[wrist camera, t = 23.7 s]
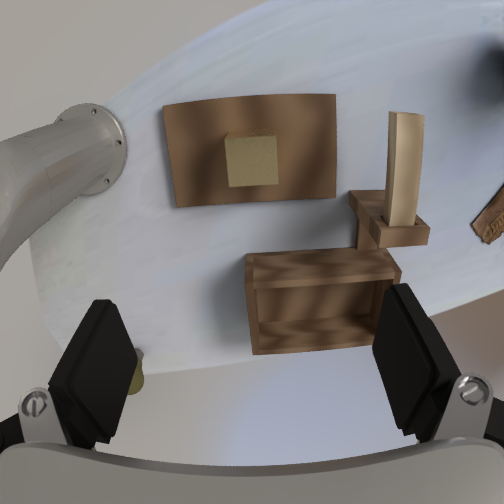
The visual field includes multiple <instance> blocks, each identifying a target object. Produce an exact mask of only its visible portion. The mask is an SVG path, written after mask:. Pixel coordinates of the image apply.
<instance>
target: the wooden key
mask: <svg viewBox="0 0 504 504" xmlns="http://www.w3.org/2000/svg"><path fill="white" fill-rule="evenodd" d="M423 135H424V116H423V115H419V114H415V113H406V112H394V111H389V129H388V157H387V174H386V188H385V200H384V210H383V221H384V223H385V224H386V225H387V226H388V227H390V226H414V223H415V216H416V209H417V202H418V194H419V185H420V175H421V165H422V152H423ZM403 247H406V246H403ZM387 248H390V247H387Z"/></svg>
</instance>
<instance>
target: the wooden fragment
mask: <svg viewBox="0 0 504 504" xmlns="http://www.w3.org/2000/svg"><path fill="white" fill-rule="evenodd" d="M471 225H472V227H473V229H474V231H475V233H476V235H477V236H480V237H481V238H482V240H483V241H484V242H485V243H488V244H489V245H490V244H491V242H493V241H494V240H496V239H497V238H499V237H500V236H501V234H502V233H503V232H504V187H503V188H502V189H501V190H500V192H499V193H498V194H497V195H496V196H495V198H494V199H493V200H492V201H491V203H490V204H489V205H488V206H487V207H486V208H485V210H484V211H483V212H482V213H481V214H480V215H479V217H478V218H477V220H476V221H475V222H474V223H473V224H471Z"/></svg>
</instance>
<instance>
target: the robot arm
mask: <svg viewBox="0 0 504 504" xmlns="http://www.w3.org/2000/svg"><path fill="white" fill-rule="evenodd" d="M96 110H97V112H96ZM120 141H121V142H122V143H120ZM126 158H127V141H126V136H125V133H124V130H123V128H122V126H121V124H120V122H119V121H118V119H117V118H116V117H115V115H114V114H112V113H111V112H110V111H109V110H108V109H106V108H104V107H102V106H100V105H96V104H87V103H85V104H79V105H76V106H72V107H70V108H69V109H67V110H65V111H64V112H63V113H62V114H60V116H58V118H57V119H56V120H55V122H54V123H53V124H50V125H46V126H44V127H41V128H37V129H34V130H31V131H28V132H26V133H23V134H20V135H17V136H15V137H12V138H9V139H7V140H4V141H1V142H0V271H1V270H2V268H3V266H4V265H5V263H6V262H7V261H8V259H9V258H10V257H11V255H12V254H13V253H14V252H15V251H16V250H17V249H18V248H19V246H20V245H21V244H22V243H23V242H24V241H25V240H27V239H28V238H29V237H30V236H31V235H32V234H33V233H34V232H35V231H36V230H38V229H39V228H40V227H41V226H42V225H44V224H45V223H46V222H47V221H48V220H50V219H51V218H52V217H53V216H54V215H55V214H57V213H58V212H59V211H60V210H62V209H63V208H64V207H65V206H67V205H68V204H69V203H70V202H72V201H73V200H74V199H75V198H77V197H78V196H79V195H94V194H97V193H100V192H102V191H104V190H106V189H107V188H109V187H110V186H111V185H112V184H113V183H114V182H115V181H116V180H117V179H118V178H119V176H120V175H121V173H122V171H123V168H124V166H125V162H126ZM108 179H109V181H108ZM372 350H373V355H374V357H375V361H376V363H377V366H378V369H379V372H380V375H381V378H382V381H383V384H384V387H385V390H386V393H387V396H388V400H389V403H390V406H391V409H392V413H393V416H394V419H395V422H396V425H397V428H398V429H402V431H403V434H404V436H407V435H411V434H415V435H416V438H417V440H418V442H417V444H416V445H411V446H406V447H402V448H398V449H393V450H388V451H384V452H378V453H373V454H368V455H362V456H356V457H350V458H344V459H337V460H329V461H321V462H312V463H301V464H288V465H271V466H210V465H192V464H179V463H169V462H159V461H151V460H144V459H137V458H131V457H125V456H119V455H113V454H108V453H103V452H98V451H96V449H95V447H94V446H95V443H96V442H101V443H106V444H109V442H110V439H111V437H113V436H114V435H115V433H116V430H117V427H118V423H119V419H120V417H121V413H122V410H123V407H124V403H125V400H126V397H127V394H128V391H129V388H130V385H131V382H132V378H133V375H134V372H135V369H136V366H137V363H138V357H137V353H136V351H135V349H134V347H133V344H132V342H131V340H130V338H129V335H128V333H127V330H126V328H125V326H124V323H123V321H122V318H121V316H120V313H119V311H118V308H117V306H116V305H115V304H114V303H112V301H111V300H108V299H105V300H94V301H93V303H92V304H91V306H90V308H89V309H88V311H87V313H86V314H85V316H84V318H83V320H82V321H81V323H80V325H79V327H78V328H77V330H76V332H75V334H74V335H73V337H72V339H71V341H70V343H69V344H68V346H67V348H66V350H65V352H64V354H63V356H62V358H61V359H60V362H59V363H58V365H57V367H56V369H55V371H54V373H53V375H52V377H51V379H50V381H49V383H48V385H49V388H48V390H46V389H45V388H41V387H36V388H33V389H30V390H29V391H27V392H26V393H25V394H24V395H23V396H22V397H21V399H20V401H19V405H18V413H17V414H15V415H13V416H12V417H10V418H8V419H6V420H4V421H2V422H0V504H504V401H501V400H499V399H497V398H494V397H493V389H492V386H491V384H490V382H489V381H488V380H487V379H486V378H485V377H484V376H482V375H480V374H477V373H465V374H463V375H462V374H461V372H460V371H459V369H458V367H457V365H456V363H455V361H454V359H453V357H452V355H451V353H450V352H449V350H448V348H447V346H446V344H445V342H444V341H443V339H442V337H441V335H440V334H439V332H438V330H437V329H436V327H435V325H434V323H433V322H432V320H431V319H430V318H428V317H427V315H426V313H425V311H424V310H423V308H422V306H421V305H420V303H419V302H418V300H417V298H416V297H415V295H414V293H413V292H412V290H411V289H410V287H409V285H408V284H407V283H402V284H392V285H390V287H389V289H386V290H385V292H384V297H383V301H382V306H381V311H380V315H379V320H378V324H377V328H376V332H375V336H374V340H373V345H372Z"/></svg>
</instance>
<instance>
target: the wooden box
mask: <svg viewBox="0 0 504 504" xmlns="http://www.w3.org/2000/svg"><path fill="white" fill-rule="evenodd" d="M384 200H385V190H350V194H349V205H350V207H351V208H352V210H353V211H354V212H355V214H356V215H357V217H358V223H357V236H356V247H349V248H332V249H316V250H299V251H283V252H266V253H249V254H246V271H245V288H246V297H247V307H248V316H249V325H250V335H251V344H252V353H253V355H267V354H284V353H298V352H310V351H321V350H331V349H341V348H350V347H358V346H365V345H373V340H374V336H375V332H376V328H377V324H378V320H379V315H380V311H381V306H382V301H383V297H384V292H385V290H386V289H389V287H390V285H392V284H399V283H400V278H401V274H402V271H401V269H400V268H399V266H398V265H397V264H396V262H395V261H394V259H393V258H392V256H391V255H390V253H389V252H388V250H387V249H386V248H387V247H403V246H418V245H427V243H428V238H429V233H430V227H429V226H428V225H427V224H426V223H425V222H424V221H423V220H422V219H421V218H420V217H419V216H418V215H417V214H416V216H415V223H414V226H390V227H388V226H387V225H386V224H385V223H384V221H383V210H384Z"/></svg>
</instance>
